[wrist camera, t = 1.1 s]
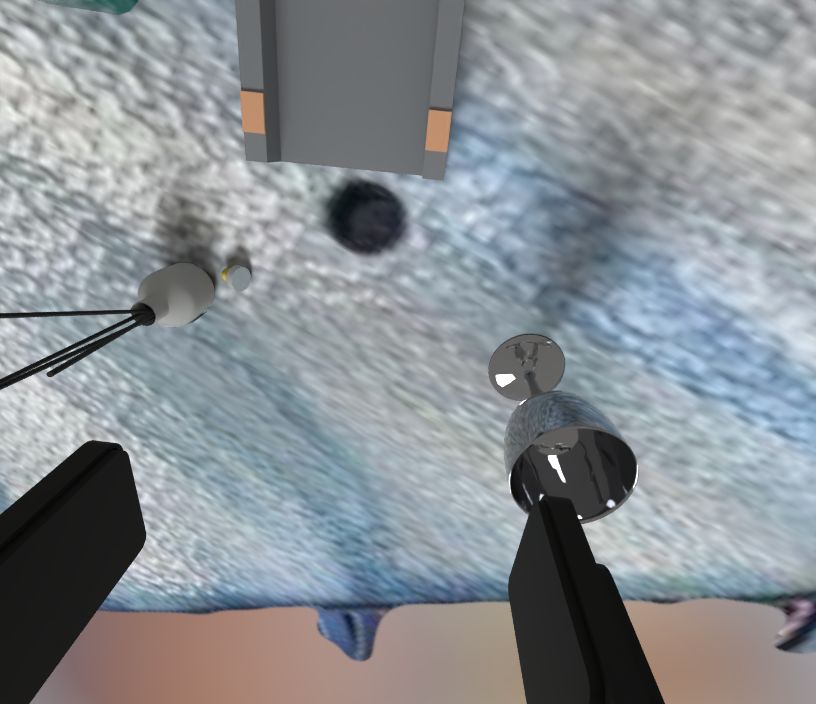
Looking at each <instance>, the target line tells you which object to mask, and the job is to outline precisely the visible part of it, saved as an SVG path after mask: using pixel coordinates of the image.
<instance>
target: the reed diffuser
mask: <svg viewBox="0 0 816 704" xmlns="http://www.w3.org/2000/svg"><path fill="white" fill-rule="evenodd" d="M222 278H223V279H224V280H226V283H227V285H228V287H229V288H231V289H234V290H236V291H243V290H245V289H246V288H247V287H248V286H249V284H250V280H251V274H250V272H249V270H248V269H247V268H245V267H242V266H239V265H235V266H232V267H231V268H226V269H224V270H223V271H222ZM214 296H215V290H214V286H213V283H212V281H211V279H210V277H209V276H208V275H207V274H206V272H204V271H203V270H202V269H201V268H199V267H197V266H195V265H193V264H190V263H177V264H174V265H171V266H168V267H166V268H163V269H160V270H158V271H156V272H153V273H151V274H150V275H148V276H147V277H146V278H145V279H144V280H143V281H142V282H141V284H140V287H139V290H138V299H139V302H137V303H136V304H134V305H133V306H132V308H131V310H104V311H68V312H31V313H0V318H24V317H50V316H77V315H103V314H129V313H131V314H132V316H131V317H129V318H127V319H125V320H123V321H121V322H119V323H117V324H115V325H112V326H110V327H108V328H106V329H104V330H102V331H100V332H98V333H96V334H94V335H92V336H90V337H87V338H85V339H83V340H81V341H79V342H77V343H75V344H73V345H71V346H69V347H67V348H65V349H62V350H60V351H58V352H56V353H54V354H52V355H50V356H48V357H46V358H44V359H42V360H40V361H37V362H35V363H33V364H31V365H29V366H27V367H25V368H23V369H21V370H19V371H17V372H15V373H12V374H10V375H8V376H6V377H4V378H2V379H0V390H1V389H3V388H5V387H8V386H10V385H12V384H14V383H16V382H18V381H21V380H23V379H25V378H27V377H29V376H31V375H34V374H36V373H38V372H40V371H42V370H44V369H47V368H49V367H51V366H53V365H55V364H57V363H59V362H62V361H64V360H66V359H68V358H70V357H72V356H75V355H77V354H79V353H81V352H82V353H81V354H79V355H77V356H75V357H74V358H72V359H70V360H68V361H67V362H65V363H63V364H61V365H60V366H58V367H56V368H54V369H53V370H51V371H49V372H47V376H48V377H52V376H54V375H56V374H57V373H59V372H61V371H62V370H64V369H66V368H67V367H69V366H71V365H73V364H74V363H76V362H78V361H79V360H81V359H83V358H84V357H86V356H88V355H89V354H91V353H93V352H94V351H96V350H98V349H99V348H101V347H103V346H104V345H106V344H108V343H109V342H111V341H113V340H115V339H116V338H118V337H120V336H121V335H123V334H125V333H126V332H128V331H130V330H131V329H133V328H135V327H137V326H139V325H145V326H149V325H152V324H154V323H155V322H156V323H158V324H161V325H163V326H168V327H178V326H183V325H185V324H188V323H191V322H194V321H195V320H197V319H198V318H199V317H201V316H202V315H203V314H204V313H203V312H204V311H205V310H206V309H207V308H208V307H209V306H210V305H211V304H212V302H213V300H214ZM206 312H207V311H206ZM206 312H205V313H206ZM201 313H202V314H201ZM132 320H135V321H136V322H135V323H133V324H132V325H130V326H128V327H126V328H124V329H121V330H119V331H117V332H115V333H113V334H110V335H108V336H106V337H104V338H102V339H99V340H97V341H95V342H93V343H90V344H88V345H86V346H84V347H82V348H79V349H77V350H75V351H73V352H70V353H68V354H66V355H64V356H62V357H59V358H57V359H55V360H53V361H51V362H48V361H50V360H52V359H54V358H56V357H58V356H60V355H62V354H64V353H66V352H68V351H70V350H72V349H74V348H76V347H78V346H80V345H82V344H84V343H87V342H89V341H91V340H93V339H95V338H97V337H99V336H101V335H103V334H105V333H107V332H109V331H111V330H113V329H115V328H117V327H119V326H121V325H123V324H125V323H127V322H129V321H132ZM85 350H86V351H85ZM83 351H84V352H83ZM46 362H48V363H46ZM44 363H46V364H44ZM42 364H44V365H42ZM40 365H42V366H40ZM37 366H39V367H37ZM35 367H37V368H35ZM33 368H35V369H33ZM31 369H33V370H31ZM29 370H31V371H29ZM27 371H28V372H27ZM25 372H26V373H25ZM23 373H24V374H23ZM21 374H22V375H21ZM19 375H20V376H19Z"/></svg>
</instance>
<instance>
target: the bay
mask: <svg viewBox="0 0 816 704" xmlns="http://www.w3.org/2000/svg"><path fill="white" fill-rule="evenodd" d="M464 4H465V0H235V5H236V20H237V35H238V49H239V64H240V79H241V91H240V96H241V111H242V125H243V132H244V137H245V152H246V160H247V161H257V162H278V161H283V162H293V163H303V164H313V165H322V166H332V167H342V168H352V169H362V170H372V171H382V172H392V173H401V174H411V175H421V176H423V177H422V178H425V179H434V180H444V173H445V165H446V156H447V148H448V140H449V131H450V123H451V115H452V105H453V97H454V88H455V80H456V71H457V63H458V55H459V46H460V38H461V29H462V21H463V12H464Z"/></svg>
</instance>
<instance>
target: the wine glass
mask: <svg viewBox="0 0 816 704" xmlns="http://www.w3.org/2000/svg"><path fill="white" fill-rule="evenodd" d="M564 371H565V359H564V356H563V353H562V351H561V349H560V348H559V347H558V346H557V344H555V343H554V342H553V341H552V340H550V339H548V338H546V337H543V336H540V335H533V334H529V335H521V336H517V337H514V338H511V339H510V340H508V341H506V342H504V343H503V344H502V345H501V346H500V347H499V348H498V349H497V350H496V351H495V352H494V354H493V355H492V358H491V360H490V363H489V372H488V373H489V378H490V381H491V383H492V385H493V387H494V388H495V389H496V390H497V391H498V392H499V393H500V394H501V395H503V396H505V397H507V398H509V399H512V400H516V401H523V402H522V403H521V404H520V405H518V406H517V407H516V409H515V410H514V411H513V413H512V414H511V416H510V418H509V421H508V424H507V427H506V431H505V438H504V461H505V468H506V474H507V479H508V483H509V488H510V491H511V494H512V496H513V499H514V501H515V502H516V503H517V505H518V506H519V507H520V508H521V509H522V510H523V511H524V512H525V513H526V514H528V515H529V513H530V510H531V507H532V504H533V502H534V501H540V500H541V498H542V497H543V496H544V495H547V496H555V497H563V498H569V499H570V500H571V501H572V503H573V505H574V508H575V510H576V513H577V515H578V518H579V520H580V523H581V524H585V523H589V522H593V521H595V520H598V519H601V518H603V517H605V516H607V515H609V514H610V513H612V512H614V511H615V510H616V509H618V508H619V507H620V506H621V505H622V504H623V503H624V502H625V501H626V500H627V499H628V498H629V497H630V495H631V494H632V492H633V490H634V488H635V486H636V484H637V479H638V464H637V460H636V457H635V455H634V453H633V452H632V450H631V448H630V446H629V445H628V443H627V442H626V440H625V438H624V437H623V436H622V434H621V433H620V432H619V430H618V429H617V428H616V426H615V425H614V424H613V423H612V422H611V421H610V419H609V418H608V417H607V416H606V415H605V414H604V413H603V412H602V411H601V410H599V409H598V408H597V407H595V406H594V405H593V404H591V403H590V402H589V401H587V400H586V399H584V398H582V397H580V396H578V395H576V394H574V393H570V392H566V391H552V390H553V389H555V388H556V386H557V385H558V384H559V383H560V381H561V379H562V377H563V374H564Z"/></svg>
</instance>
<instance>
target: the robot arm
mask: <svg viewBox="0 0 816 704" xmlns="http://www.w3.org/2000/svg"><path fill="white" fill-rule="evenodd" d="M145 540H146V530H145V525H144V521H143V517H142V512H141V508H140V503H139V499H138V495H137V490H136V486H135V481H134V477H133V473H132V468H131V464H130V459H129V455H128V453H127V452H126V451H123V449H122V446H121V445H120V444H117V443H110V442H102V441H94V440H92V441H88V442H86V443H85V444H83V445H82V446H81V447H80V448H79V449H77V450H76V451H75V452H74V453H73V454H71V455H70V456H69V457H68V458H67V459H66V460H64V461H63V462H62V463H61V464H60V465H58V466H57V467H56V468H55V469H54V470H53V471H51V472H50V473H49V474H48V475H47V476H45V477H44V478H43V479H42V480H41V481H40V482H38V483H37V484H36V485H35V486H34V487H32V488H31V489H30V490H29V491H28V492H27V493H25V494H24V495H23V496H22V497H21V498H19V499H18V500H17V501H16V502H15V503H14V504H12V505H11V506H10V507H9V508H8V509H6V510H5V511H4V512H3V513H2V514H1V515H0V704H29V703H30V702H31V701H32V699H33V698H34V697H35V695H36V694H37V692H38V691H39V689H40V688H41V687H42V685H43V684H44V683H45V681H46V680H47V678H48V677H49V676H50V674H51V673H52V672H53V670H54V669H55V667H56V666H57V665H58V664H59V662H60V661H61V659H62V658H63V657H64V655H65V654H66V652H67V651H68V650H69V648H70V647H71V646H72V644H73V643H74V642H75V640H76V639H77V637H78V636H79V635H80V633H81V632H82V631H83V629H84V628H85V627H86V625H87V624H88V622H89V621H90V619H91V618H92V617H93V616H94V614H95V613H96V611H97V610H98V609H99V607H100V606H101V605H102V603H103V602H104V600H105V599H106V598H107V596H108V595H109V594H110V592H111V591H112V589H113V588H114V587H115V585H116V584H117V583H118V581H119V580H120V578H121V577H122V576H123V574H124V573H125V572H126V570H127V569H128V567H129V566H130V565H131V563H132V562H133V561H134V559H135V558H136V556H137V555H138V554H139V552H140V551H141V549H142V548H143V546H144V543H145ZM508 592H509V599H510V605H511V611H512V617H513V624H514V630H515V636H516V642H517V648H518V654H519V660H520V666H521V672H522V678H523V684H524V689H525V696H526V702H527V704H665V703H664V700H663V698H662V696H661V693H660V691H659V688H658V686H657V683H656V681H655V679H654V676H653V674H652V672H651V669H650V667H649V664H648V662H647V660H646V657H645V654H644V652H643V650H642V647H641V645H640V642H639V640H638V637H637V635H636V633H635V630H634V628H633V625H632V623H631V621H630V618H629V616H628V613H627V611H626V608H625V606H624V604H623V601H622V599H621V596H620V594H619V592H618V589H617V587H616V584H615V582H614V580H613V577H612V575H611V573H610V571H609V570H608V569H607V567H606V566H605V565H602V564H598V563H596V562H595V559H594V557H593V554H592V551H591V549H590V546H589V544H588V541H587V538H586V536H585V533H584V531H583V528H582V526H581V523H580V520H579V518H578V515H577V513H576V510H575V508H574V505H573V503H572V501H571V500H570V499H569V498H563V497H555V496H547V495H544V496H543V497H542V498H541V500H540V501H534V502H533V504H532V507H531V510H530V513H529V516H528V520H527V523H526V526H525V529H524V532H523V536H522V539H521V542H520V545H519V548H518V551H517V555H516V558H515V561H514V564H513V567H512V571H511V574H510V577H509V583H508Z"/></svg>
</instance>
